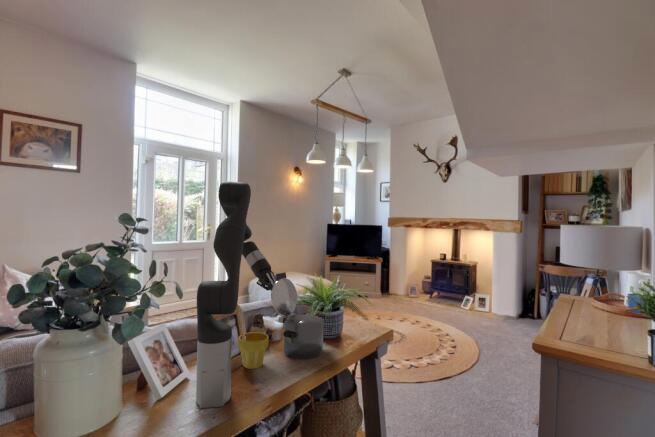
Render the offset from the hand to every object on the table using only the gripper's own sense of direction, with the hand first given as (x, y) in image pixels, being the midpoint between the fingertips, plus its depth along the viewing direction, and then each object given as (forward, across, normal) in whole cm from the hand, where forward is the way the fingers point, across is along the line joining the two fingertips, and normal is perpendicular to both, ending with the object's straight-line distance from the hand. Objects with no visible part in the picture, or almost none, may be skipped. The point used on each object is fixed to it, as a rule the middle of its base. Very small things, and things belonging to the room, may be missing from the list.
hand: (279, 296), depth 139 cm
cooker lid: (+1, 0, -3) cm, 3 cm away
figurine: (+8, -3, +20) cm, 22 cm away
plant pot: (+18, -20, +10) cm, 28 cm away
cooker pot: (+22, 0, +5) cm, 23 cm away
